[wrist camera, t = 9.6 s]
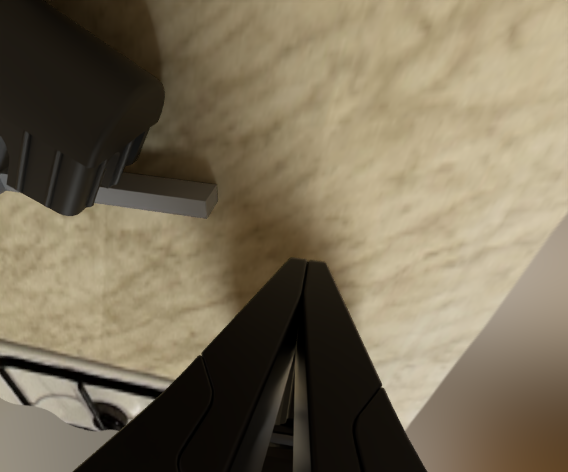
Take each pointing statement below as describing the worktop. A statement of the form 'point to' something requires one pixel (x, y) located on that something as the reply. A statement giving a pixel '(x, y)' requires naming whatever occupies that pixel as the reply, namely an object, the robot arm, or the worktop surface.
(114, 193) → the frame
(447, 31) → the worktop surface
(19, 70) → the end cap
